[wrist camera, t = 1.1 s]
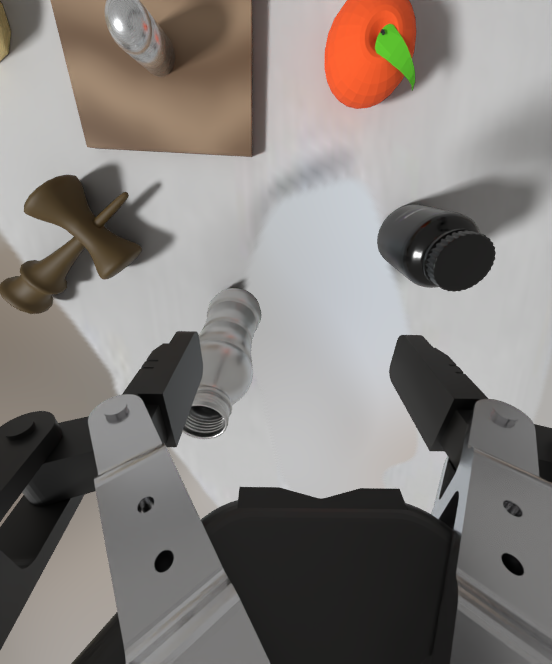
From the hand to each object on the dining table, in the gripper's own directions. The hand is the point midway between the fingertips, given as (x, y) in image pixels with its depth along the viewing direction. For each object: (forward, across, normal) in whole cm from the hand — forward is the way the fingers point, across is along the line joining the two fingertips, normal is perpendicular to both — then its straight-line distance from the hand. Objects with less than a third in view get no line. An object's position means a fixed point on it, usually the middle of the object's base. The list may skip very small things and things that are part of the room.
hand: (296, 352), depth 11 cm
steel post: (+23, +11, -15) cm, 30 cm away
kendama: (+25, +24, +2) cm, 34 cm away
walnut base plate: (+24, +11, -15) cm, 31 cm away
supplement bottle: (+24, -14, 0) cm, 28 cm away
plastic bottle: (+24, +6, +9) cm, 27 cm away
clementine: (+25, -7, -14) cm, 29 cm away
